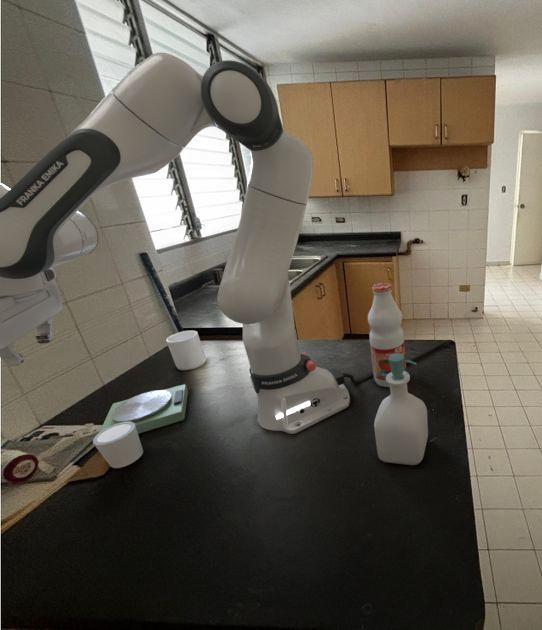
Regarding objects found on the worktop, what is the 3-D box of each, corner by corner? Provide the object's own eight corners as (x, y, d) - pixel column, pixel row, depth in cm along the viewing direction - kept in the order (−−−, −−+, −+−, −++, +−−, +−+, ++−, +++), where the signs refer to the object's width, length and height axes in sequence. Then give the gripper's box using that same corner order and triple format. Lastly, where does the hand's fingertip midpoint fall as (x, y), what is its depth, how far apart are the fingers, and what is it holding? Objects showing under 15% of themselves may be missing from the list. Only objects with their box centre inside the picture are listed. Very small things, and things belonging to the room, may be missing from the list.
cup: (186, 373, 103) (176, 344, 99) (164, 365, 109) (153, 337, 105) (212, 360, 110) (203, 332, 106) (190, 353, 115) (180, 327, 111)
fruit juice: (394, 366, 102) (387, 277, 91) (413, 379, 95) (407, 285, 84) (368, 377, 97) (356, 285, 86) (385, 392, 90) (375, 294, 79)
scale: (188, 391, 94) (184, 381, 93) (184, 419, 83) (180, 409, 82) (116, 411, 87) (111, 401, 86) (101, 445, 76) (96, 434, 75)
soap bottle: (422, 470, 66) (416, 372, 57) (375, 465, 67) (362, 368, 58) (429, 435, 74) (425, 345, 65) (388, 431, 76) (378, 343, 67)
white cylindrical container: (124, 472, 68) (110, 446, 66) (97, 468, 70) (83, 442, 67) (154, 447, 75) (143, 422, 72) (130, 444, 76) (117, 419, 73)
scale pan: (173, 386, 91) (173, 385, 91) (168, 411, 82) (168, 409, 81) (118, 401, 86) (117, 400, 86) (106, 429, 76) (104, 427, 76)
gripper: (-14, 298, 50) (20, 378, 55) (59, 267, 67) (80, 330, 72) (-76, 300, 48) (-36, 384, 52) (16, 268, 65) (40, 333, 70)
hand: (32, 352), depth 63 cm, fingers open, 8 cm apart
